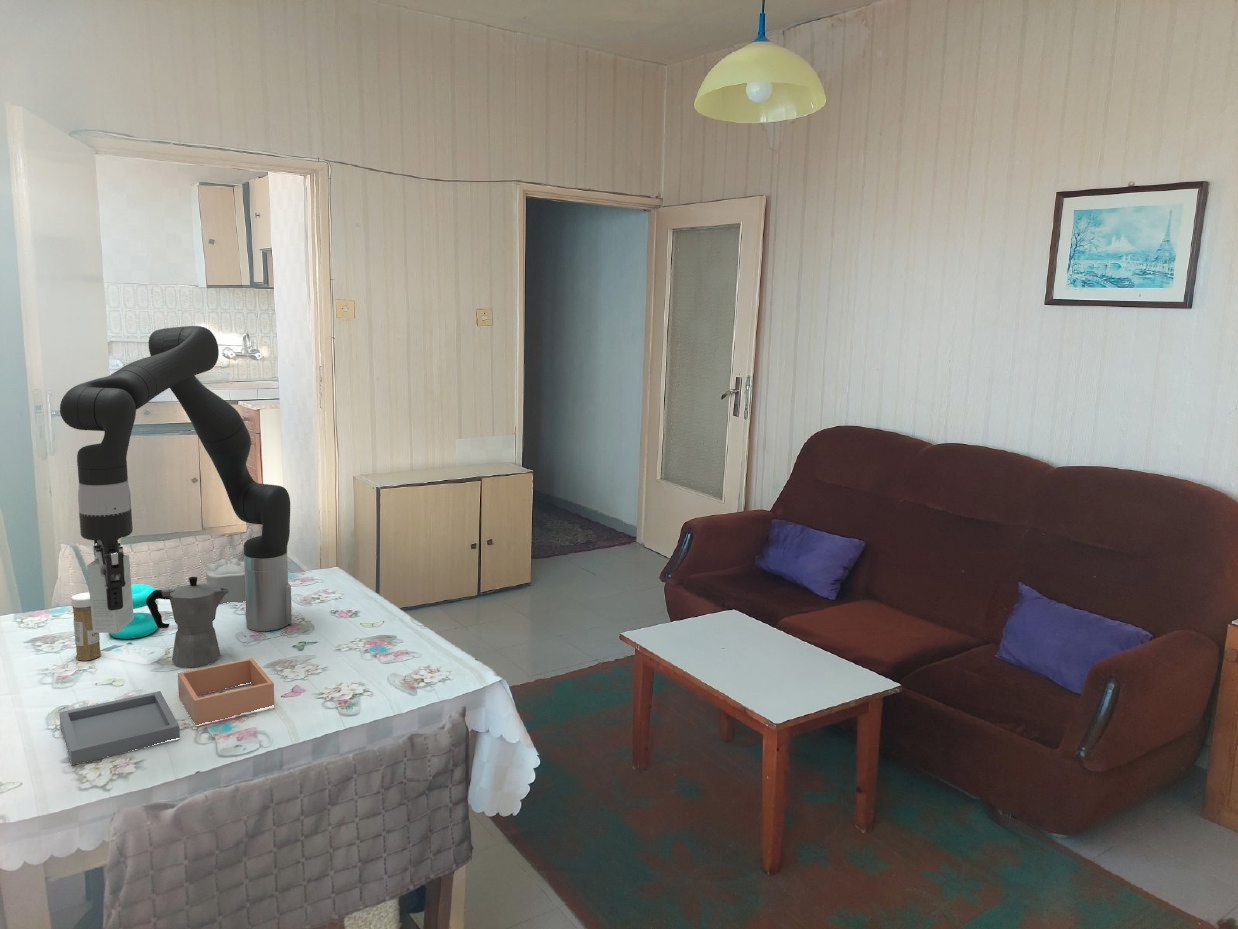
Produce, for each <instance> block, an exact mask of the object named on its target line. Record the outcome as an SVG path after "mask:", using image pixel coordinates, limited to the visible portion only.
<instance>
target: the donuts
mask: <svg viewBox="0 0 1238 929" xmlns="http://www.w3.org/2000/svg"><path fill="white" fill-rule="evenodd" d="M131 589H132V602H133V610H135V609H136V610H137V609H141V608H144V607H148V606H147V604H146V599H147V597H148V596H149V595H150V594H151V593H152V592H153V591H154V590H157V588H155V587H154V586H152V585H149V584H145V583H144V584H143V583H131ZM133 615H134V620H133V621H131V622H130V623H129V624H128V625H126V626H125V627H124V628H123V629H122V630H120V631H119V632H118V633H108V634H109V635H110V636H111V637H113V638H115V639H120V640H121V639H123V640H124V639H125V640H131V639H139V638H143V637H146V636H149V635H151V634H153V633H154V632H155V631H157V630H158V629H159V628H158V627H157V625H156V623H155V621H154V618H153V616H152V614H151V613H148V612H133Z"/></svg>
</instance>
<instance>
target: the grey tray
mask: <svg viewBox="0 0 1238 929" xmlns="http://www.w3.org/2000/svg"><path fill="white" fill-rule="evenodd" d="M58 713H59V714H58V715H59V726H60V728H61V729H60V730H61V733H62V736H63V739H64V744H65V743H66V744H65V747H66V750H68V751H67V753H68V757H70V758H69V761H70V760H71V761H70V764H72V765H71V766H75V764H76V765H78V764H77V763H80V764H84V763H83V762H85V763H89V762H92V761H91V760H93V761H96V760H100V758H101V759H104V758H103V757H105V758H108V757H107V756H109V757H113V756H116V755H121V754H120V753H122V754H125V753H129V752H128V751H130V752H133V751H132V750H134V751H136V750H135V749H138V750H141V749H145V748H144V747H146V748H149V747H148V746H150V747H153V746H152V745H154V744H157V743H161V742H165V741H167V740H171V739H176V738H180V739H181V732H180V725H179V723H178V720H177V719H176V717H175V715H174V713H173V712H172V709H171V707H170V706H169V704H168V702H167V701H166V698H165V697H164V695H163V693H162V692H161V690H159V691H155V692H154V691H153V692H149V693H143V694H140V695H135V696H130V697H125V698H121V699H117V700H111V701H106V702H102V703H97V704H93V705H88V706H83V707H79V708H74V709H69V710H68V709H67V710H63V711H59V712H58ZM154 746H155V745H154ZM87 761H88V762H87ZM73 764H74V765H73Z"/></svg>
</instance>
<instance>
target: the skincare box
mask: <svg viewBox="0 0 1238 929" xmlns="http://www.w3.org/2000/svg"><path fill="white" fill-rule="evenodd" d="M123 562H124V579H125V586H124V587H122V595H123V608H122V609H118V610H112V611H110V610H109V609H108V607H107V594H106V587H105V580H104V577H102V576H101V575H100V566H99V563H98V560H97V559H96V560H92V561H91V562H90V563H88V564H87V565H86V566H87V568H86V569H87V577H88V579H87V580H88V589H89V590H88V593H90V605H91V616H92V627H93V632H94V633H99V634H100V633H102V634H106V633H107V634H109V633H118V632H119V631H120V630H122V629H123V628H124V627H125V626H126V625H128V624H129V623H130V622H131V621H133V620H134V615H133V613H134V609H133V602H132V589H131V584H132V578H131V564H130V563H131V562H130V555H129V554H124V557H123ZM103 566H104V569H106V564H103ZM114 580H118V576H117V575H116V574H113V575H111V581H114Z"/></svg>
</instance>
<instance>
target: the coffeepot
mask: <svg viewBox="0 0 1238 929" xmlns="http://www.w3.org/2000/svg"><path fill="white" fill-rule="evenodd" d="M188 581H189V584H188V585H182V586H177V587H175V588H174V589H173V588H170V589H169V588H168V589H156V590H154V591H153V592H152V593H151V594H150V595H149V596H148V597H147V599H146V604H147V606H146V607H147V608H148V609H149V612H150V614H151V615H152V616H153V618H154V621H155V623H156V625H157V627H158V628H157V629H168V628H170V623H165V622H163V618H162V614H161V613H160V611H159V607H158V603H157V602H156V600H169V602H170V605H171V606H170V608H171V610H172V615H173V619H174V623H175V624H176V625H177V631H176V632H175V634H174V635H175V636H174V644H173V651H172V657H171V661H172V663H173V664H174V665H175V666H177V667H179V668H183V667H184V668H185V667H186V668H187V669H188V668H189V669H195V667H196V668H203V667H207V666H209V665H211V664H214V663H216V662H217V661H218V660H219V659H220V658H221V656H222V655H221V650H220V646H219V642H218V638H217V632H216V630H215V627H214V621H215V619H216V615H217V608H218V607H219V606H220V604H219V603H220V602H221V600H222V598H223V597H224V596H225V594H227V593H229V591H228V590H227V589H223V588H220V587H215V586H214V585H209V584H207V583H198V577H197V576H191V577H189V578H188ZM215 661H216V662H215ZM208 664H209V665H208ZM192 667H193V668H192ZM186 668H185V669H186Z"/></svg>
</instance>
